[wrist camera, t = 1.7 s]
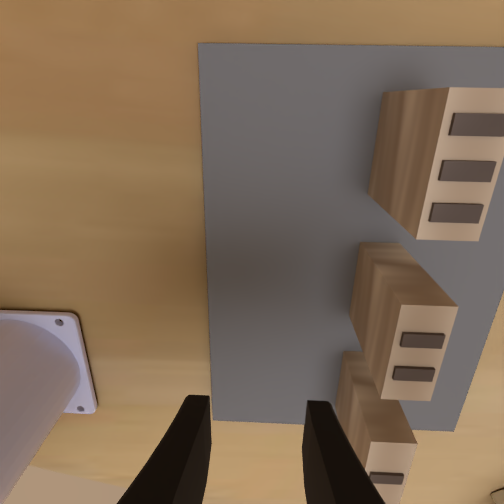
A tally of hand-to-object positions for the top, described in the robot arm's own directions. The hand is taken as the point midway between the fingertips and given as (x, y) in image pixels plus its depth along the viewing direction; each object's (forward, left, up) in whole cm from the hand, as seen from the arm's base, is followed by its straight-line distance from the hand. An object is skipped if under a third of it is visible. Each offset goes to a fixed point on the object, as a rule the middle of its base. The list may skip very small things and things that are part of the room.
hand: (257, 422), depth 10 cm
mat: (+5, 0, -10) cm, 11 cm away
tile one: (+6, -7, -9) cm, 13 cm away
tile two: (+6, 0, -9) cm, 11 cm away
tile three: (+6, +7, -9) cm, 13 cm away
